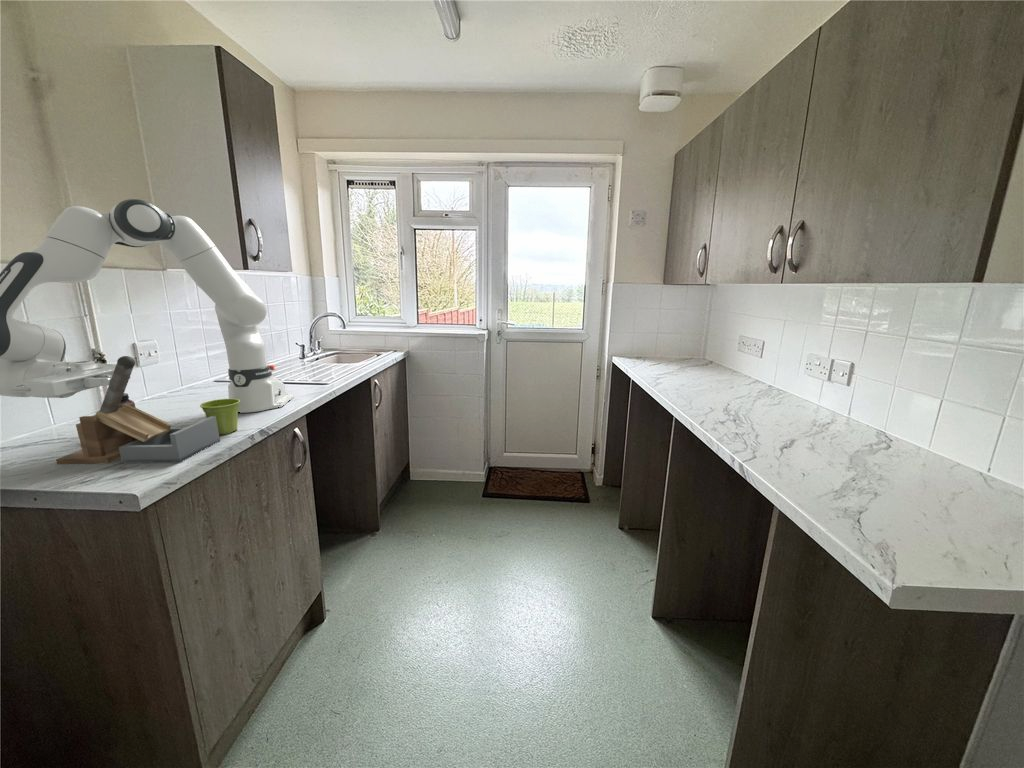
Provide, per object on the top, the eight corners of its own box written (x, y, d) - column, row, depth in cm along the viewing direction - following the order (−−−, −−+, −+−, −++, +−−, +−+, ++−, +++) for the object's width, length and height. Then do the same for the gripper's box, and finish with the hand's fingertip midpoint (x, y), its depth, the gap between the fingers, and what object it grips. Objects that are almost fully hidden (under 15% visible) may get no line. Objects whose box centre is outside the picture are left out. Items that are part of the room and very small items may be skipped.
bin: (169, 441, 112) (163, 417, 110) (220, 441, 112) (215, 416, 110) (122, 463, 98) (115, 435, 96) (180, 462, 98) (174, 434, 97)
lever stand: (111, 442, 111) (102, 403, 109) (156, 442, 111) (148, 402, 109) (56, 464, 98) (44, 419, 95) (108, 463, 98) (97, 418, 95)
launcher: (116, 408, 106) (137, 351, 103) (169, 433, 108) (191, 377, 105) (83, 418, 98) (104, 356, 95) (141, 445, 100) (164, 385, 97)
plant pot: (237, 424, 126) (233, 396, 124) (249, 430, 120) (244, 401, 118) (200, 432, 119) (195, 403, 117) (211, 439, 113) (205, 409, 111)
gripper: (2, 375, 90) (66, 377, 90) (95, 359, 110) (147, 360, 110) (9, 403, 91) (72, 405, 91) (100, 383, 111) (151, 384, 111)
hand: (114, 380), depth 101 cm, fingers closed, pressing on launcher
